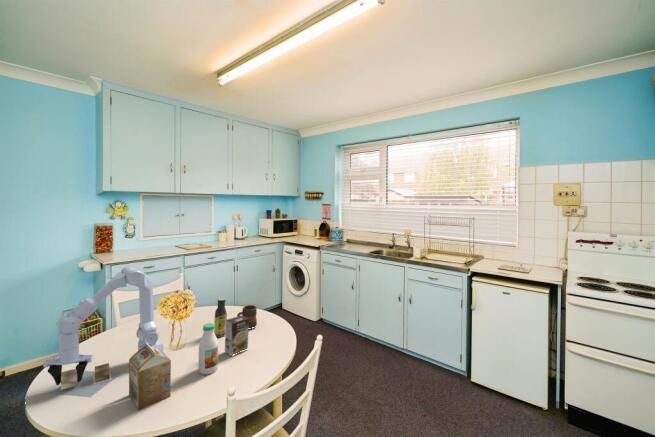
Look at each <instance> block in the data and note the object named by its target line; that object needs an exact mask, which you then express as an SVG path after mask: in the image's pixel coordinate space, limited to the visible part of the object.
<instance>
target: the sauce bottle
mask: <svg viewBox="0 0 655 437" xmlns="http://www.w3.org/2000/svg"><path fill="white" fill-rule="evenodd" d="M214 311H215V312H214V323H213V324H214V325H215V328H214V333H215V336H216V338H222V337H225V333H226V320H227V319H228V318H227V317H228V312H227V310H226V298H225V297H219V298H217V308H216V309H215V310H214ZM221 336H222V337H221Z"/></svg>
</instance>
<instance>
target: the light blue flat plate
mask: <svg viewBox="0 0 655 437" xmlns="http://www.w3.org/2000/svg"><path fill="white" fill-rule="evenodd" d="M120 375H121V373H115V372H110V379H107V380H104V381H101V382H97V383H95V370H94V371H93V370H84V373H83V377H82V380H81V381H80V382H77V385H76V386H73V387H69V388H66V389H62V390H61V385H60V386H59V387H57V388H55V389H54V390H52V391H51V392H50V394H54V395H64V396H72V397H73V396H76V397H86V398H91V397H93V396H94V395H96V394H97V393H98V392H100V391H101V390H102V389H104V388H105V387H106V386H107V385H109V384H110V383H111V382H113V381H114V380H115V379H116V378H118V377H119V376H120Z"/></svg>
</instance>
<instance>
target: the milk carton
mask: <svg viewBox="0 0 655 437" xmlns="http://www.w3.org/2000/svg"><path fill="white" fill-rule="evenodd" d="M128 361H129V362H128V396H129V397H130V400H131V402H132V404H133V405H134V407H135V409H136V410H137V411H142V410H143V409H145V408H148V407H150V406H153V405H154V404H157V403H159V402H161V401H163V400H166V399H168V398H170V397H171V393H172V392H171V383H172V382H171V381H172V380H171V379H172V376H171V375H172V374H171V372H172V360H171V358H170V357H169V356H167V355H166V354H165V352H164V351H163V352H162V351H161V350H160V349H158V348H156V347H153V346H149V345H148V343H147V342H145V346H144V347H142V348H141V349H140V350H139V351H138V350H137V351H136V352H135V353H134V354H133V355H132V356H131V357H129V359H128Z"/></svg>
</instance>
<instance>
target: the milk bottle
mask: <svg viewBox="0 0 655 437" xmlns="http://www.w3.org/2000/svg"><path fill="white" fill-rule="evenodd" d="M214 328H215V325H214V323H212V322H210V323H209V322H207V323H205V324H204V325H203V326H202V331H203V333H202V336H201V338H200V340H199V344H198V345H199V346H198V373H199V374H200V373H201V374H200V375H205V374H206V375H210V374H211V375H212V374H213V373H215V372H216V371H217V370H218V366H219V364H218V363H219V360H218V359H219V343H218V337H216V336H215V333H214Z"/></svg>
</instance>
